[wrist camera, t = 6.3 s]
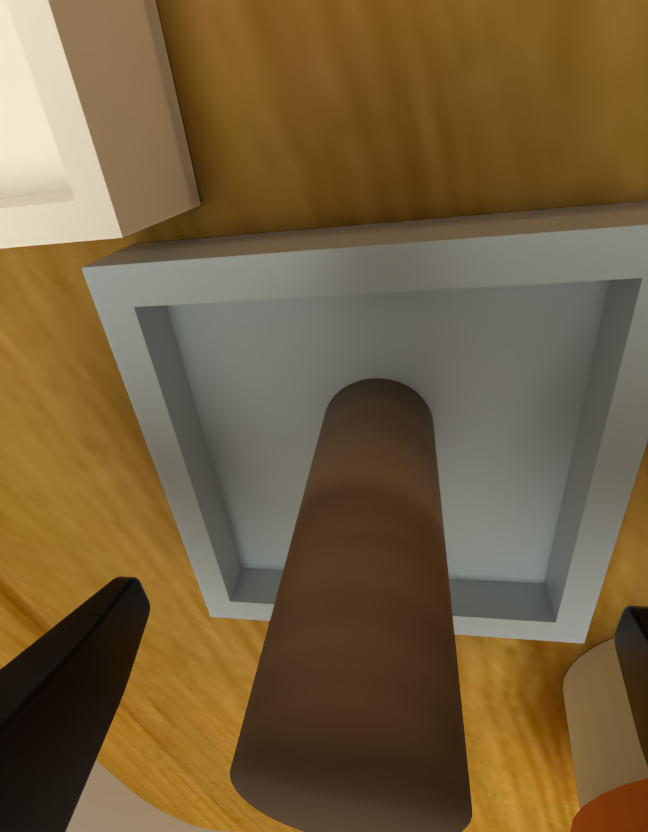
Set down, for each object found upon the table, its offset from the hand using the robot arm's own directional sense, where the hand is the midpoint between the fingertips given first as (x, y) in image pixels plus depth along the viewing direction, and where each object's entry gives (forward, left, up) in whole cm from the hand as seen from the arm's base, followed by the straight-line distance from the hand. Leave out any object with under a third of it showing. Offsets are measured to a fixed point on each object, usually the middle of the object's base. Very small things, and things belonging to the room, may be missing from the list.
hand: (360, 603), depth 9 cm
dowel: (0, 0, -6) cm, 6 cm away
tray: (0, +1, -7) cm, 7 cm away
